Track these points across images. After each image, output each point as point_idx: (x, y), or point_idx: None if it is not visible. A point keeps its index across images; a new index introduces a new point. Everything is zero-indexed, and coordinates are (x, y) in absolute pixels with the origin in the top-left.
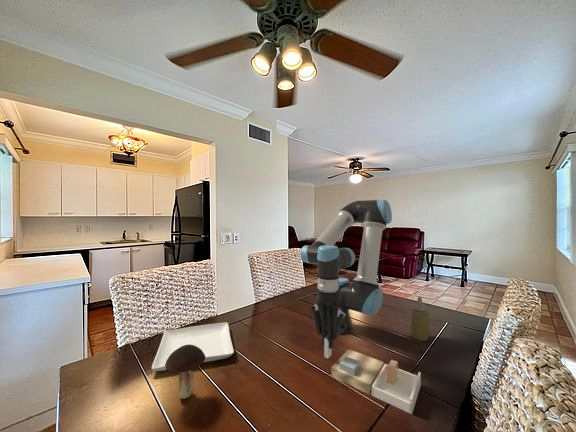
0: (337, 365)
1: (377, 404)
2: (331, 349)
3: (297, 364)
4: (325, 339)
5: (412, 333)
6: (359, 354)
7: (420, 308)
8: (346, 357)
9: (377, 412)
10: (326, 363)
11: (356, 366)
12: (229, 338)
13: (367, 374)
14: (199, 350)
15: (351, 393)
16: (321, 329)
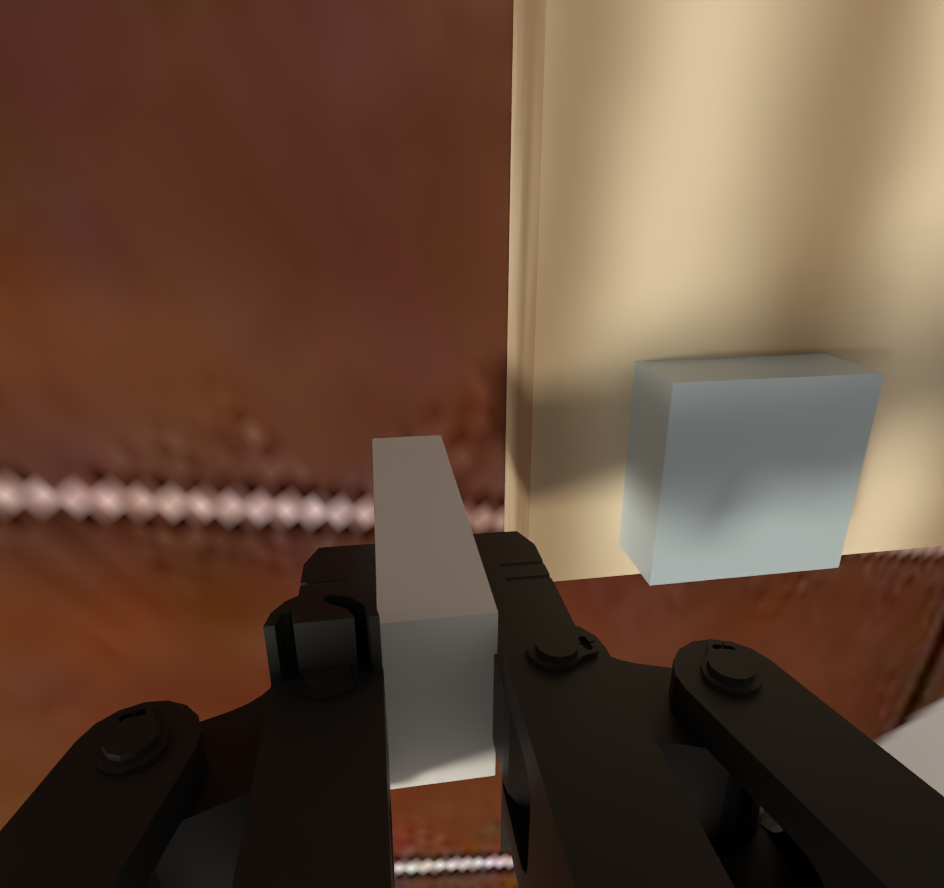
0: (572, 504)
1: (931, 551)
2: (453, 480)
3: (80, 616)
4: (422, 773)
5: None
6: (765, 13)
7: None
8: (693, 413)
9: (932, 614)
10: (337, 371)
11: (850, 488)
12: None
13: (918, 417)
14: None
15: (736, 585)
16: (154, 858)
